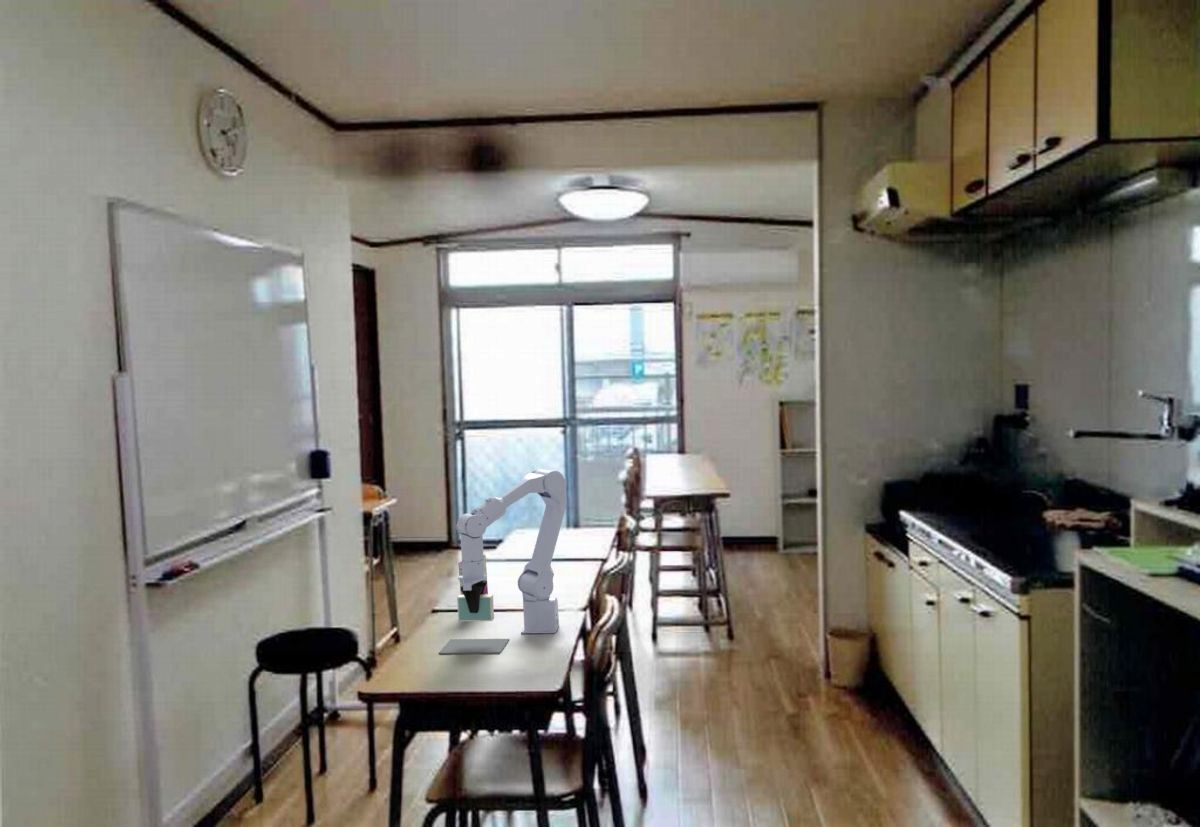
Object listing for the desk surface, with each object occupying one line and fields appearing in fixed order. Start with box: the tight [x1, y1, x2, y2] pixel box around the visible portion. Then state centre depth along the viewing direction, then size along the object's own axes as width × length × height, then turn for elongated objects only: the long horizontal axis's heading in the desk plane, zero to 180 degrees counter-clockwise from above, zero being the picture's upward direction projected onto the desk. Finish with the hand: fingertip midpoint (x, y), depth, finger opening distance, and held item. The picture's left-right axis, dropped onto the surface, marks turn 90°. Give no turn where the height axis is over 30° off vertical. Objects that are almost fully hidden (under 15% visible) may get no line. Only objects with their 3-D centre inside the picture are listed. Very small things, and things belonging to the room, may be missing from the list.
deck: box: [456, 593, 495, 622], centre depth 231 cm, size 9×2×6 cm, turn 84°
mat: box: [438, 638, 510, 655], centre depth 229 cm, size 16×11×1 cm
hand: (475, 610), depth 231 cm, fingers closed on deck, 2 cm apart
